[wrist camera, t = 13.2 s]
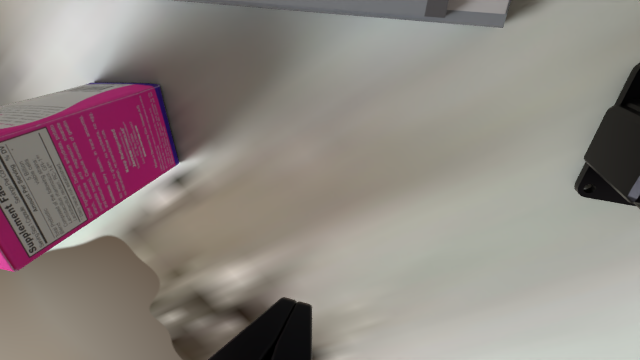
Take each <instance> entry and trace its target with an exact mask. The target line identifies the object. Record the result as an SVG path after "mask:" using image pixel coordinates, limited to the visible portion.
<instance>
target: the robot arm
mask: <svg viewBox="0 0 640 360" xmlns="http://www.w3.org/2000/svg"><path fill="white" fill-rule="evenodd" d="M584 159H585V161H586V163H585V165H584V167H583V169H582V171H581V172H580V174H579V176H578V178H577V180H576V182H575V186H574V187H575V190H576V191H577V192H578V193H579V194H580V195H581V196H583V197H587V198H592V199H598V200H604V201H610V202H615V203H621V204H627V205H632V206H637V207H638V208H639V209H640V63H639V64H637V65H636V66H635V67H634V68H633V70H632V71H631V73H630V75H629V77H628V79H627V81H626V83H625V85H624V87H623V89H622V91H621V93H620V95H619V97H618V99H617V101H616V103H615V105H614V106H612V107H611V108H609V109H608V110H607V112H606V114H605V116H604V118H603V120H602V122H601V124H600V126H599V128H598V130H597V132H596V134H595V136H594V138H593V140H592V142H591V144H590V146H589V148H588V150H587V152H586V154H585V156H584ZM588 184H592V187H591V188H589V189H584V187H585V186H586V185H588ZM208 360H312V306H311V305H310V304H307V303H303V302H296V301H295V300H292V299H289V298H285V297H283V298H281V299H280V300H278V301H277V302H276V303H275V304H274V305H272V306H271V307H270V308H269V309H268V310H266V311H265V312H264V313H263V314H262V315H260V316H259V317H258V318H257V319H256V320H255V321H253V322H252V323H251V324H250V325H249V326H247V327H246V328H245V329H244V330H243V331H241V332H240V333H239V334H238V335H237V336H235V337H234V338H233V339H232V340H231V341H229V342H228V343H227V344H226V345H225V346H224V347H222V348H221V349H220V350H219V351H218V352H216V353H215V354H214V355H213V356H212V357H210V358H209V359H208Z"/></svg>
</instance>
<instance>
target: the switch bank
mask: <svg viewBox="0 0 640 360" xmlns="http://www.w3.org/2000/svg"><path fill="white" fill-rule="evenodd" d="M175 1H187V2H199V3H211V4H223V5H235V6H247V7H259V8H271V9H283V10H295V11H307V12H319V13H331V14H343V15H355V16H367V17H379V18H391V19H403V20H415V21H427V22H439V23H451V24H463V25H475V26H487V27H499V28H503V26H504V23H505V20H506V16H507V13H508V10H509V6H510V3H511V0H175Z"/></svg>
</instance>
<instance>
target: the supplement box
mask: <svg viewBox="0 0 640 360" xmlns="http://www.w3.org/2000/svg"><path fill="white" fill-rule="evenodd" d="M177 164H179V160H178V157H177V153H176V149H175V145H174V141H173V137H172V133H171V129H170V125H169V121H168V117H167V113H166V109H165V105H164V101H163V96H162V92H161V87H160V85H159V84H150V83H89V84H86V85H83V86H79V87H75V88H71V89H67V90H64V91H60V92H56V93H52V94H48V95H44V96H40V97H36V98H32V99H28V100H23V101H19V102H15V103H11V104H7V105H4V106H0V269H4V270H9V271H14V272H16V271H18V270H19V269H21V268H22V267H24V266H25V265H27V264H28V263H30V262H31V261H33V260H34V259H36V258H37V257H39V256H40V255H42V254H43V253H45V252H46V251H48V250H49V249H51V248H52V247H54V246H55V245H57V244H58V243H60V242H61V241H63V240H64V239H66V238H67V237H69V236H71V235H72V234H73V233H75V232H76V231H78V230H79V229H81V228H82V227H84V226H86V225H87V224H89V223H90V222H92V221H93V220H94V219H96V218H98V217H99V216H100V215H102V214H103V213H105V212H106V211H108V210H109V209H111V208H113V207H114V206H116V205H117V204H119V203H120V202H122V201H123V200H124V199H126V198H127V197H129V196H131V195H132V194H134V193H135V192H137V191H138V190H140V189H141V188H143V187H144V186H146V185H147V184H149V183H150V182H152V181H153V180H155V179H156V178H158V177H159V176H161V175H162V174H164V173H165V172H167V171H168V170H170V169H171V168H173V167H174V166H176V165H177Z"/></svg>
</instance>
